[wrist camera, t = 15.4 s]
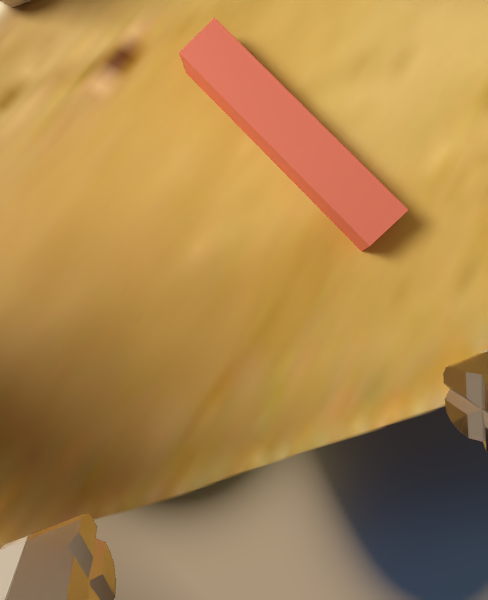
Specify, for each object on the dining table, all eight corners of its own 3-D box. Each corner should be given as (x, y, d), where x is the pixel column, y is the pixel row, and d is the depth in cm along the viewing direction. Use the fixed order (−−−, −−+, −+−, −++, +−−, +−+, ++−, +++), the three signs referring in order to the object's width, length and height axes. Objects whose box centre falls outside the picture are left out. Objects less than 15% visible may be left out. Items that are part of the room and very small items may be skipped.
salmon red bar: (360, 252, 31) (370, 246, 28) (187, 76, 33) (179, 52, 30) (395, 219, 31) (408, 210, 28) (219, 44, 33) (214, 17, 30)
